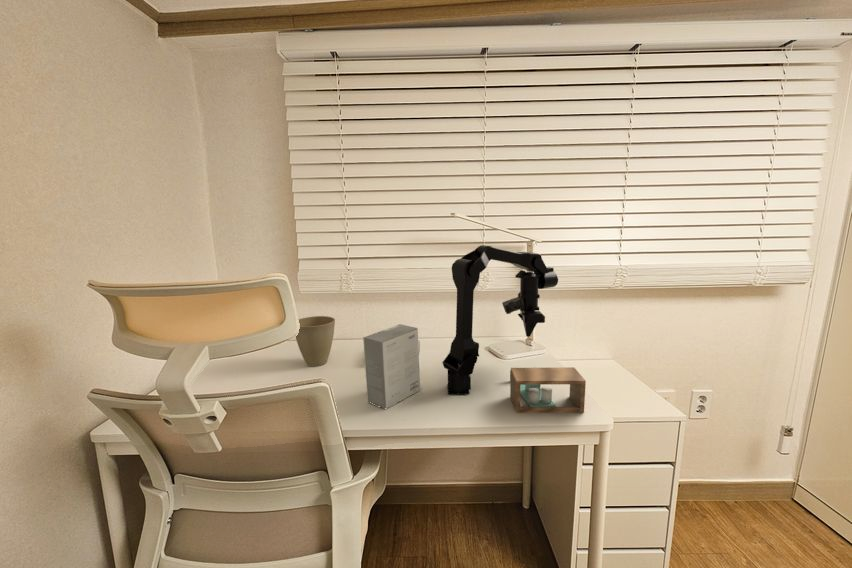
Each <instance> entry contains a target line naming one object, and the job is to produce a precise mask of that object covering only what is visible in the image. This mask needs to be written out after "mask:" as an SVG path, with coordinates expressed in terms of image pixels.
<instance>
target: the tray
mask: <svg viewBox="0 0 852 568" xmlns="http://www.w3.org/2000/svg"><path fill="white" fill-rule="evenodd" d="M509 381H510V382H509V383H511V369H510V371H509ZM541 385H542V384H536V385H520V397H522V399H523V400H524V401H525V402H526V403H527V406H528V407H554V406H556V405H557V404H555V403H554V401H553V400H552V399H553V389H552V388H551V387H547V386H544V387H541Z"/></svg>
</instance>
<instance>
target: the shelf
mask: <svg viewBox="0 0 852 568" xmlns="http://www.w3.org/2000/svg"><path fill="white" fill-rule="evenodd" d="M510 370H511V382H510V384H509V385H510V390H509V391H510V392H509V398H510V400H511V403H512V405H513V408H514V410H515V413H585V403H586V402H585V401H586V398H585V397H586V379H585V378H584V376H582V374H580V372H579V371H578V370H577V368H575V367H573V366H572V367H571V366H570V367H510ZM536 384H541V385H569V399H570V400H571V401H572V402H573V405H574V406H571V407H570V406H569V407H568V406H564V407H563V406H557V407H530V406H524V407H523V406H521V395H520V385H536Z"/></svg>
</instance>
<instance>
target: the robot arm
mask: <svg viewBox="0 0 852 568" xmlns="http://www.w3.org/2000/svg"><path fill="white" fill-rule="evenodd" d="M490 261H496V262H497V261H498V262H502V263H507V264H512V265H513V266H514V267H516V268H519V269H521V270H519V271H518V273H516V274H515V278H517V279H520V285H519V292H518V293H517V297H513V298H510V299H508V300H505V301H503V302H501V303H502V307H503V309H504V312H505V314H506V315H509V314H512V313H513V312H516V311H520V312H519V313H517V316H518V317H519V319H521V321H522V323H523V327H524V332H525V336H526V337H528V338H530V337H531V336H532V334H533V332H534V330H535V328H536V326H537V325H538V324H544V323H546V316H545V314H543V313H542V312H541V311H540V306H538V305H539V299H540V298H541V297H540V294H539V290H542V289H543V290H544V289H551V288H555V287H556V286H557V285H558V283H559V278H558V274H557V273H556V272H555V271H554V270H555V269H554V267H551V266H549V267H547V266H546V264H545V262H544V260H543V257H542V254H540V253H539V252H530V251H529V252H527V251H511V250H507V249H502V248H498V247H497V248H496V247H493V246H492V245H484V244H483V245H478V246H477V247H476V248H475V249H473V250H472V251H470V252H468V253H466V254H464V255H463V256H462V257H461V258H458V259H456V260H454V262H453V263H452V265H451V275H452V281H453V283H454V286H455V289H456V311H455V312H456V313H455V314H456V315H455V316H456V319H455V321H456V322H455V337H454V338H453V340H452V341H451V343H450V350H449V352H448V354H447V355H446V357H445V358H444V360H443V361H442V365H443V368H444V369H446V370H447V384H446V385H447V386H446V387H447V395H470V390H471V388H472V387H471V386H472V384H471V380H472V379H471V378H472V377H471V375H473V372H474V369H475V366H476V364H477V361H478V357H480V354H479V349H480V344H479V342H477V341H474V338H473V319H474V317H473V316H474V295H475V294H474V291H475V289H476V286H477V285H478V283H479V281H480V275H481V273H483V271H484V270H486V268H487V267H488V265H489V262H490Z"/></svg>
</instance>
